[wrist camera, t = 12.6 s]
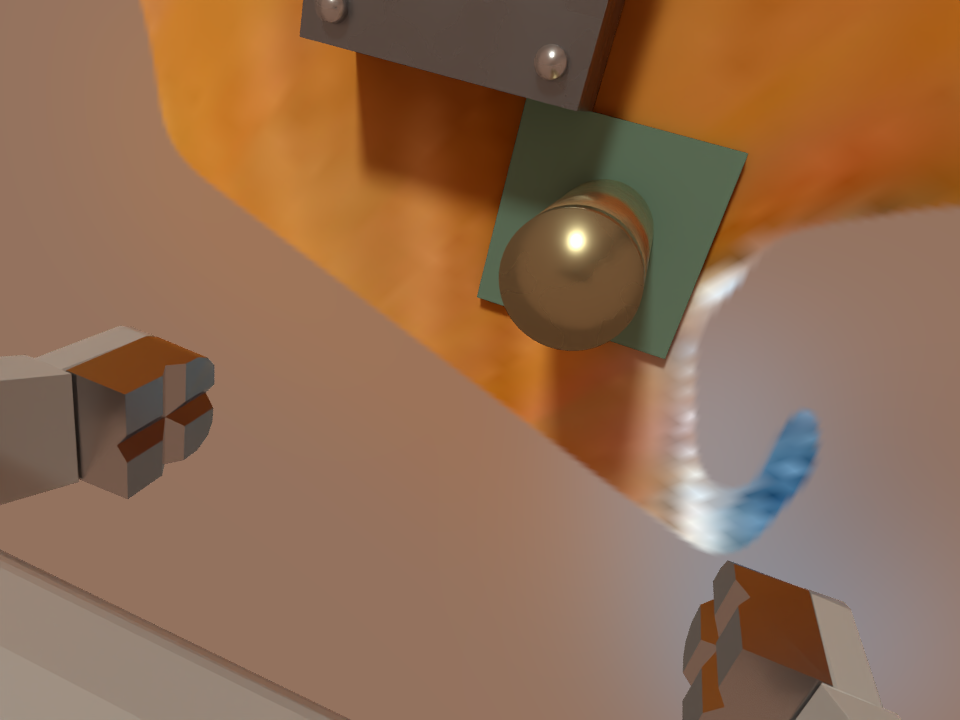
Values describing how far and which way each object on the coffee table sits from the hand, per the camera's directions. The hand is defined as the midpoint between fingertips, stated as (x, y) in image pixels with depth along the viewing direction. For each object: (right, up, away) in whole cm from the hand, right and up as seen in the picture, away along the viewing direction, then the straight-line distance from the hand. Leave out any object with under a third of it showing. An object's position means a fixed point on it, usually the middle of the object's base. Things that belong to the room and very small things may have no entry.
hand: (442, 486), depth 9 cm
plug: (+6, +8, +20) cm, 23 cm away
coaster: (+6, +8, +21) cm, 23 cm away
